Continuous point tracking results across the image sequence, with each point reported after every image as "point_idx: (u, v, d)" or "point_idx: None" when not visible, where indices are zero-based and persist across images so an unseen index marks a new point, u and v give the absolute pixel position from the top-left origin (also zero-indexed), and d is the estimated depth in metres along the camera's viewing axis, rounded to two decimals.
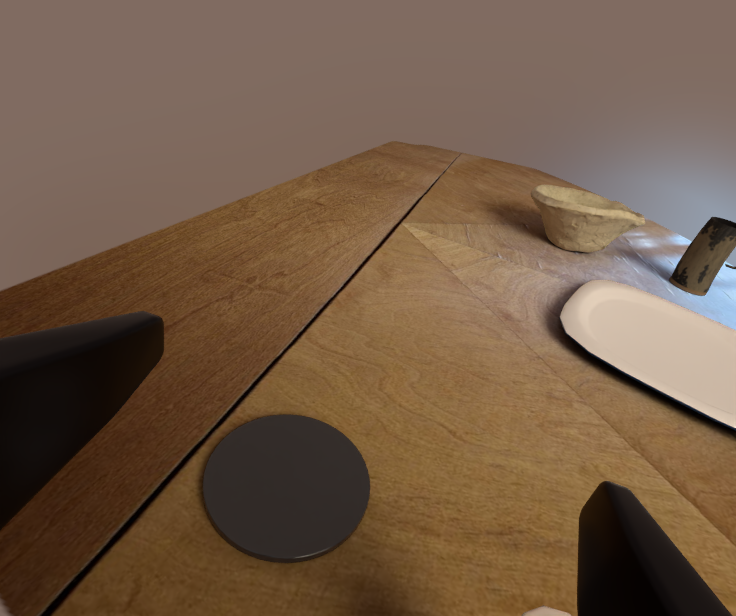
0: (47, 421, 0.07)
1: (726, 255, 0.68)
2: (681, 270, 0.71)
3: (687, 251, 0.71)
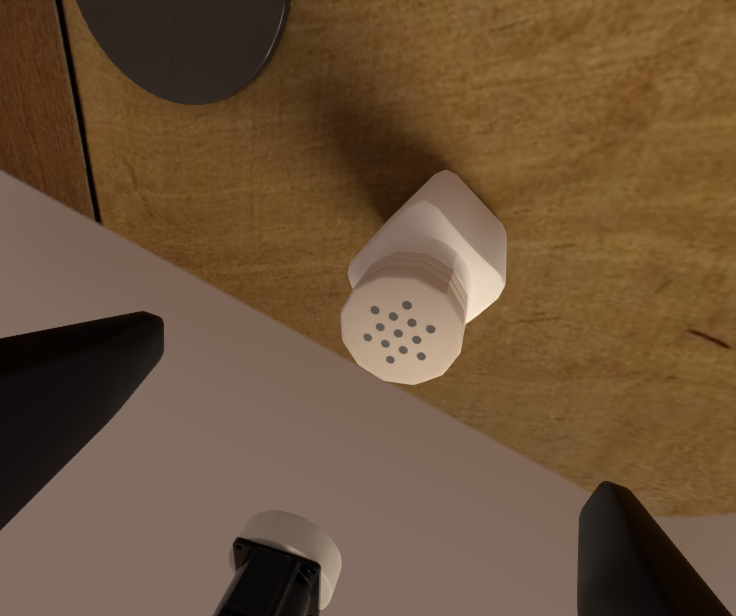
0: (47, 421, 0.07)
1: None
2: None
3: None
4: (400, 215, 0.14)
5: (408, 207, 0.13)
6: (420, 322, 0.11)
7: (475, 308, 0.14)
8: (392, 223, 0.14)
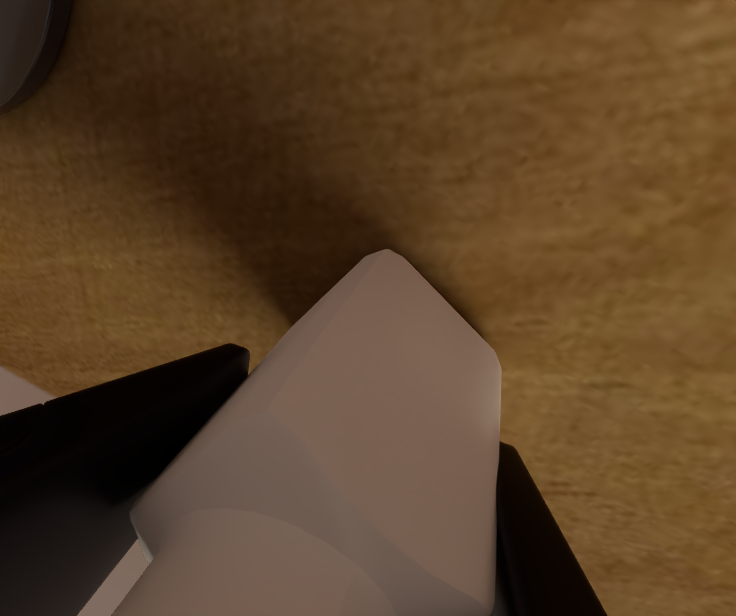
0: (154, 466, 0.07)
1: None
2: None
3: None
4: (210, 441, 0.05)
5: (229, 423, 0.05)
6: None
7: None
8: (192, 459, 0.05)
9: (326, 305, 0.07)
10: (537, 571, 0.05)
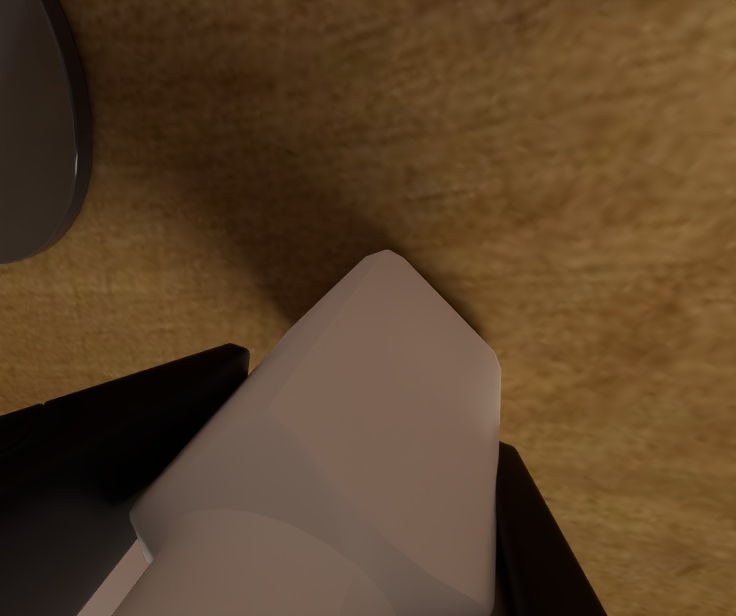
0: (154, 466, 0.07)
1: None
2: None
3: None
4: (210, 442, 0.05)
5: (229, 424, 0.05)
6: None
7: None
8: (192, 460, 0.05)
9: (326, 306, 0.07)
10: (537, 571, 0.05)
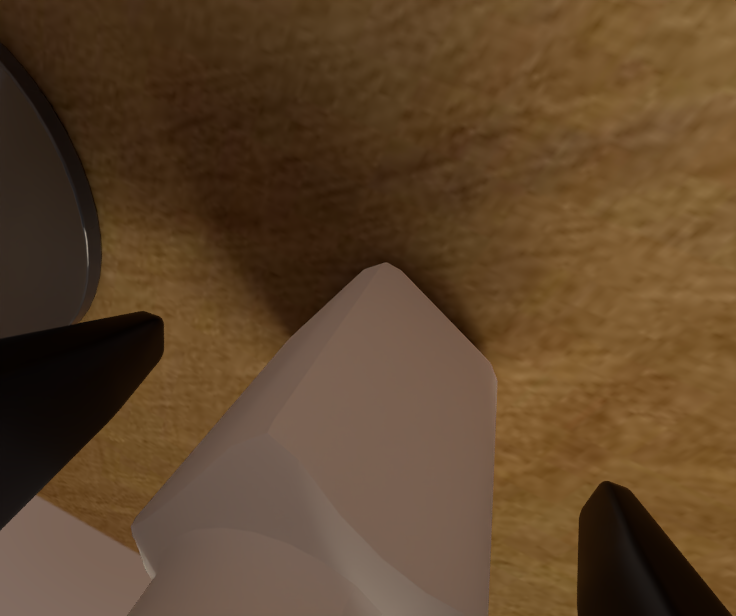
0: (47, 421, 0.07)
1: None
2: None
3: None
4: (212, 462, 0.05)
5: (230, 445, 0.05)
6: None
7: None
8: (193, 479, 0.05)
9: (325, 322, 0.07)
10: None
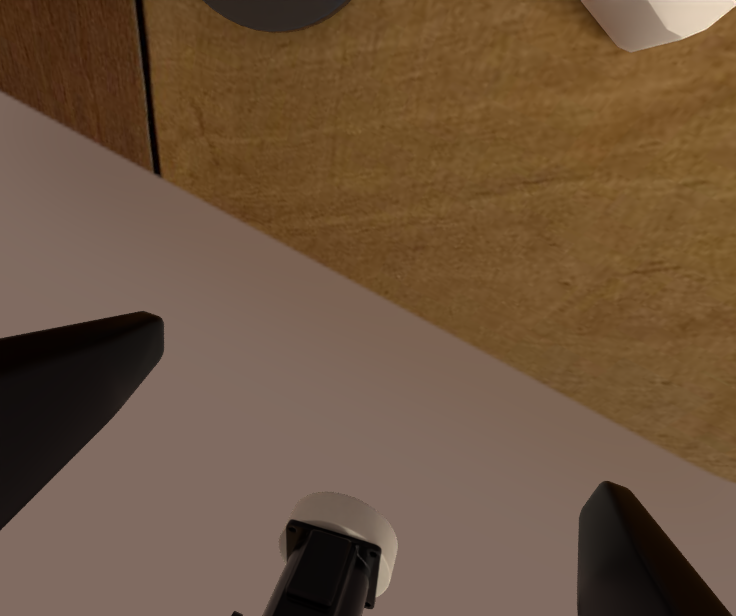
0: (47, 421, 0.07)
1: None
2: None
3: None
4: None
5: None
6: None
7: None
8: None
9: None
10: None
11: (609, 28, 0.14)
